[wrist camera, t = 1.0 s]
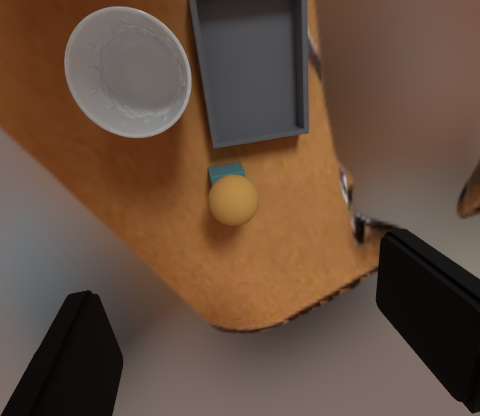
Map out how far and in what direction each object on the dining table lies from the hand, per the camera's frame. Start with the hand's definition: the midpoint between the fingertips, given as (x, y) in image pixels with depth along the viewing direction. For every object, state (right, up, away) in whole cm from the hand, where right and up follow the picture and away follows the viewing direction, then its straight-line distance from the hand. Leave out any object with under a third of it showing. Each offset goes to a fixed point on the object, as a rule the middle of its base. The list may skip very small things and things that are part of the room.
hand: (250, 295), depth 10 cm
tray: (+1, +17, +20) cm, 26 cm away
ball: (-1, +4, +19) cm, 20 cm away
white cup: (-9, +16, +19) cm, 26 cm away
